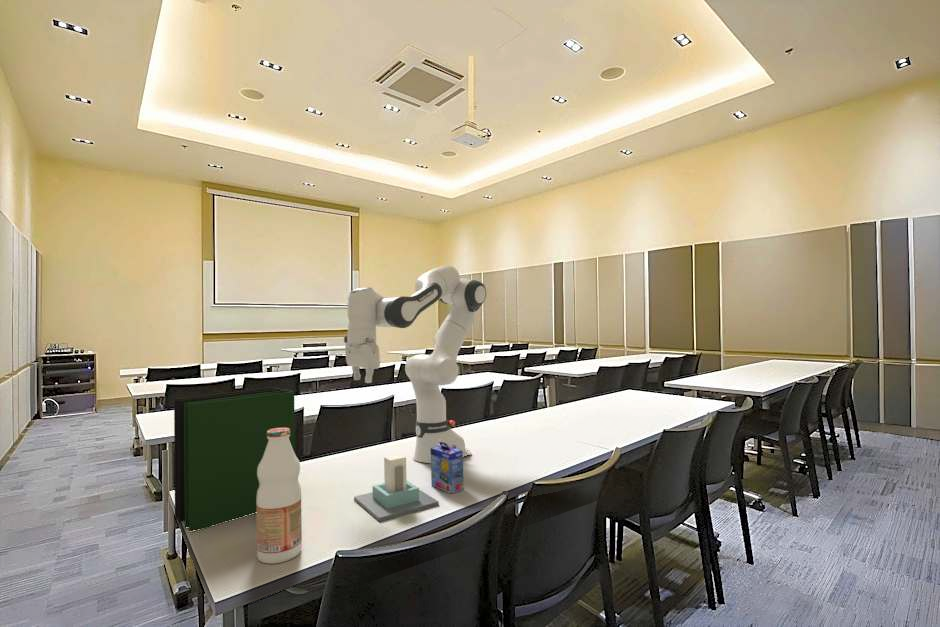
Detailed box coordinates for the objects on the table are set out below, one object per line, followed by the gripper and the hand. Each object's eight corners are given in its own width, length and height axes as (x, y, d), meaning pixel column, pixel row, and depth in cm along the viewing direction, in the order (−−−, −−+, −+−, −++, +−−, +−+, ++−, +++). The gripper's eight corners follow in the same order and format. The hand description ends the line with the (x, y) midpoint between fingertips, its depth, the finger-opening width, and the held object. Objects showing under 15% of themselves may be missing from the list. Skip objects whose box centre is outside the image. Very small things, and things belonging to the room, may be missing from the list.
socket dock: (409, 486, 145) (409, 472, 145) (438, 505, 130) (438, 489, 131) (354, 500, 135) (353, 484, 135) (379, 521, 120) (379, 504, 120)
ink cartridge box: (430, 486, 145) (429, 440, 146) (443, 481, 149) (442, 436, 149) (451, 494, 138) (450, 446, 139) (464, 489, 142) (463, 442, 142)
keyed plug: (400, 494, 136) (399, 454, 136) (408, 500, 132) (407, 458, 132) (384, 498, 133) (384, 457, 133) (392, 504, 129) (391, 461, 129)
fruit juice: (260, 569, 98) (258, 437, 98) (254, 551, 106) (253, 428, 106) (306, 556, 103) (304, 431, 103) (297, 540, 111) (295, 423, 111)
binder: (190, 533, 115) (189, 405, 115) (173, 517, 125) (172, 398, 126) (295, 501, 135) (294, 391, 135) (273, 489, 145) (272, 387, 145)
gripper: (384, 338, 141) (385, 383, 141) (359, 336, 158) (360, 377, 158) (365, 339, 137) (365, 385, 137) (341, 337, 154) (342, 378, 154)
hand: (362, 381), depth 148 cm, fingers open, 8 cm apart
